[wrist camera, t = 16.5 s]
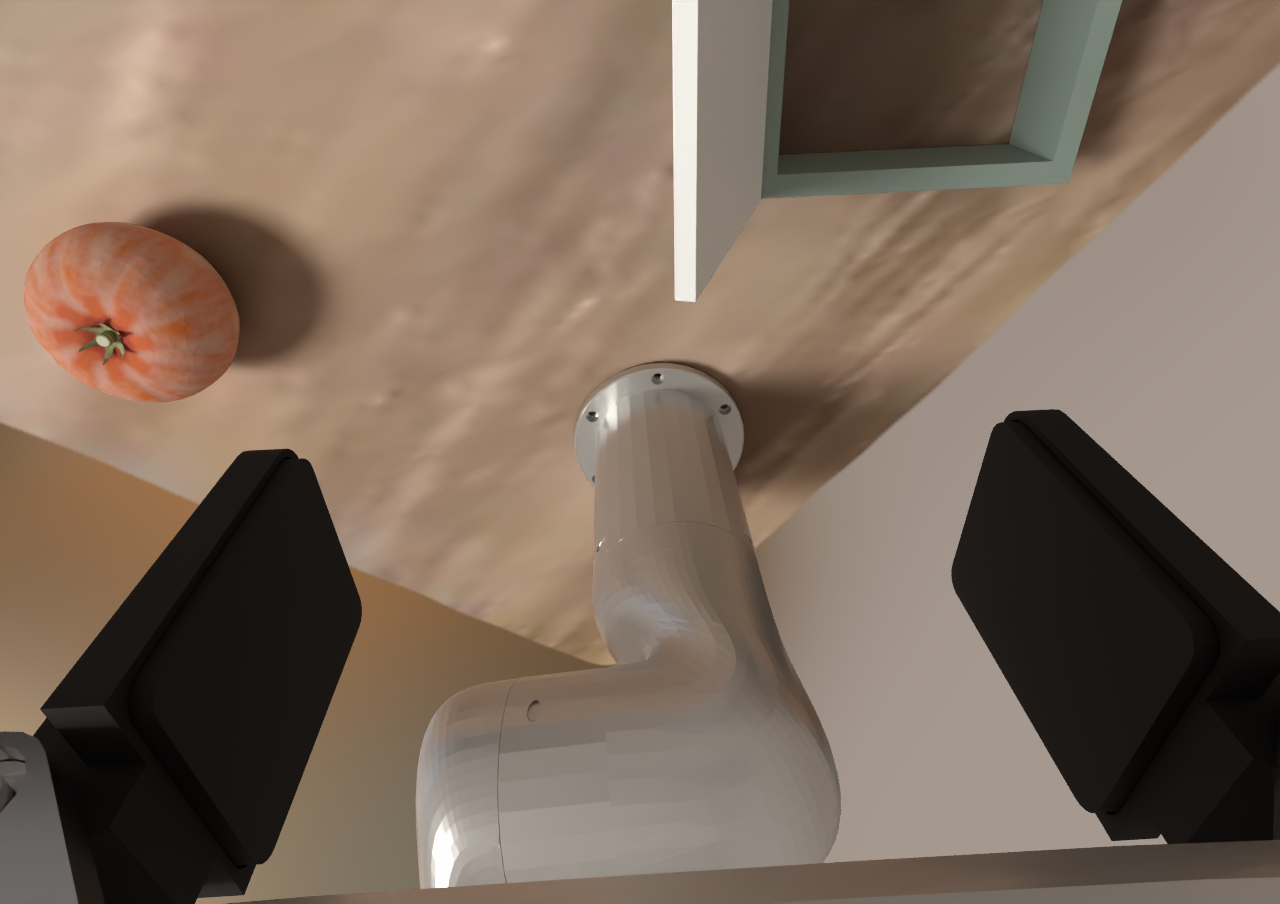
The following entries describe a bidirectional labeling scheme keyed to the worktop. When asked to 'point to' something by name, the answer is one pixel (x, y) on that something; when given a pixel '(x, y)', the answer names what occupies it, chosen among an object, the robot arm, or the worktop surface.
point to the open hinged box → (753, 169)
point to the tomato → (131, 312)
